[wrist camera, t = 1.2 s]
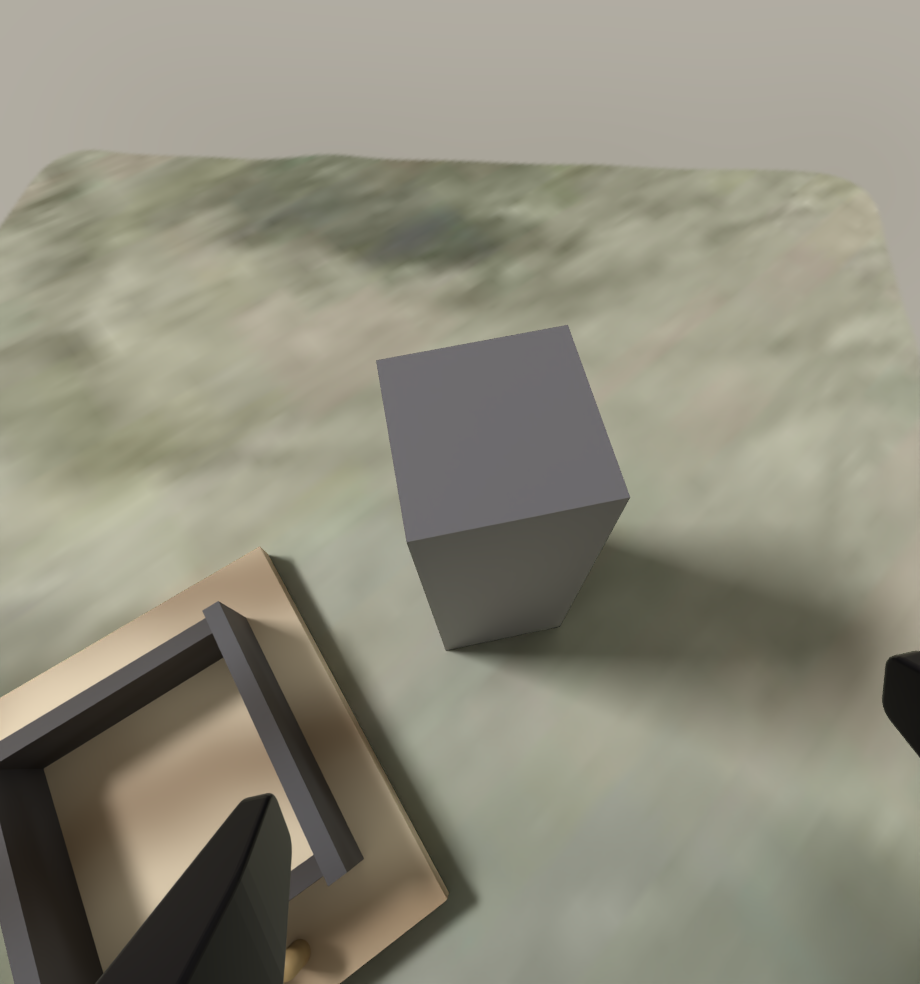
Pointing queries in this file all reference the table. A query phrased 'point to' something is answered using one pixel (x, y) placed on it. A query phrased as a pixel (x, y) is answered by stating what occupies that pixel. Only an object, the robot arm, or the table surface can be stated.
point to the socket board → (197, 785)
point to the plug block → (500, 480)
